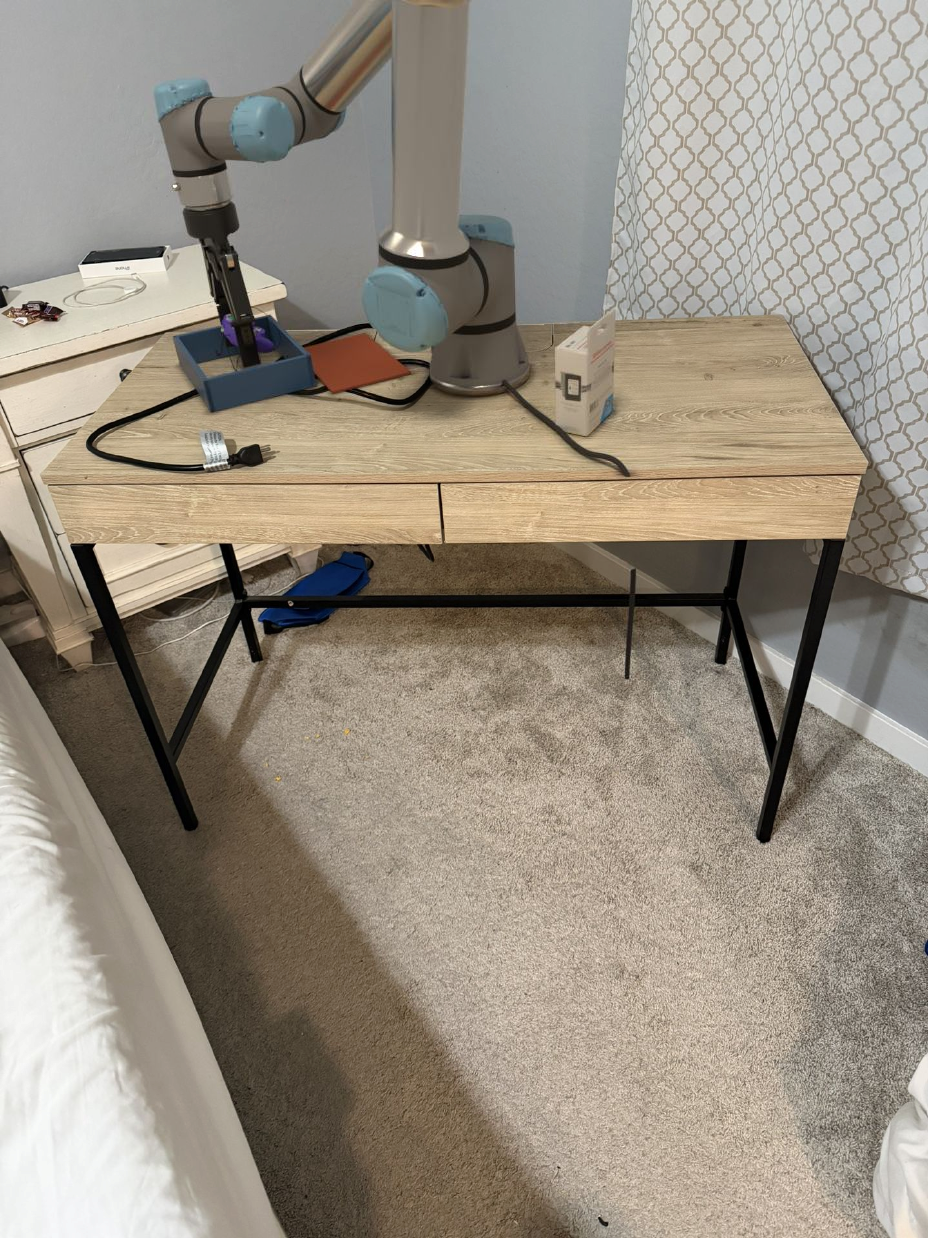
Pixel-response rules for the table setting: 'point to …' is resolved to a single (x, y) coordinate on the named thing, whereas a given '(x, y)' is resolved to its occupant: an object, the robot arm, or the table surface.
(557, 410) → the ink box
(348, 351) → the mat
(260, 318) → the box
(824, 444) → the table surface
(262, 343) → the game controller
